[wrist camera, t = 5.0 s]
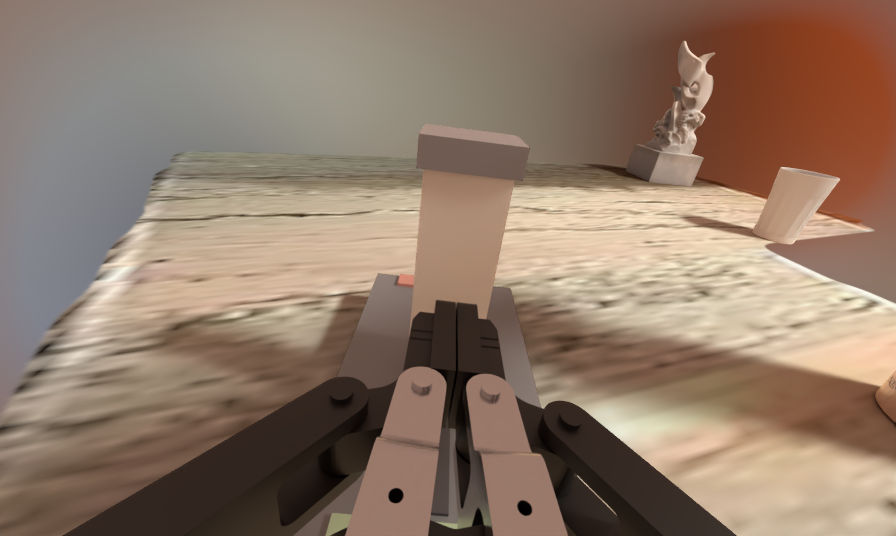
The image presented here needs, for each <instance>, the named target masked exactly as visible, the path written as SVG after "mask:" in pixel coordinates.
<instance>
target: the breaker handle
mask: <svg viewBox="0 0 896 536" xmlns="http://www.w3.org/2000/svg"><path fill="white" fill-rule="evenodd" d="M529 150H530V148H529V146H527V145H526V144H525V143H524V142H523V141H522V140H521V139H520V138H519V137H518V136H515V135H507V134H501V133H493V132H485V131H477V130H470V129H461V128H453V127H445V126H439V125H431V124H425V125H424V127H423V129H422V130H421V131H420V133H419V140H418V153H417V166H416V168H419V169H424V172H423V183H422V195H421V206H420V218H419V229H418V241H417V253H416V264H415V276H414V287H413V299H412V310H411V322H410V331H411V325H412V320H413V318H414V317H415V316H416V315H417V314H418V313H419V312H428V313H434V310H435V303H436V300H444V301H452V302H456V304H457V302H461V303H469V304H477V308H478V318H480V319H486V318H487V313H488V308H489V303H490V298H491V293H492V288H493V283H494V278H495V273H496V269H497V264H498V259H499V254H500V249H501V244H502V239H503V234H504V229H505V225H506V220H507V215H508V210H509V205H510V200H511V195H512V190H513V185H514V181H515V180H516V181H523V178H524V173H525V168H526V164H527V159H528V154H529ZM409 336H410V333H409Z"/></svg>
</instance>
